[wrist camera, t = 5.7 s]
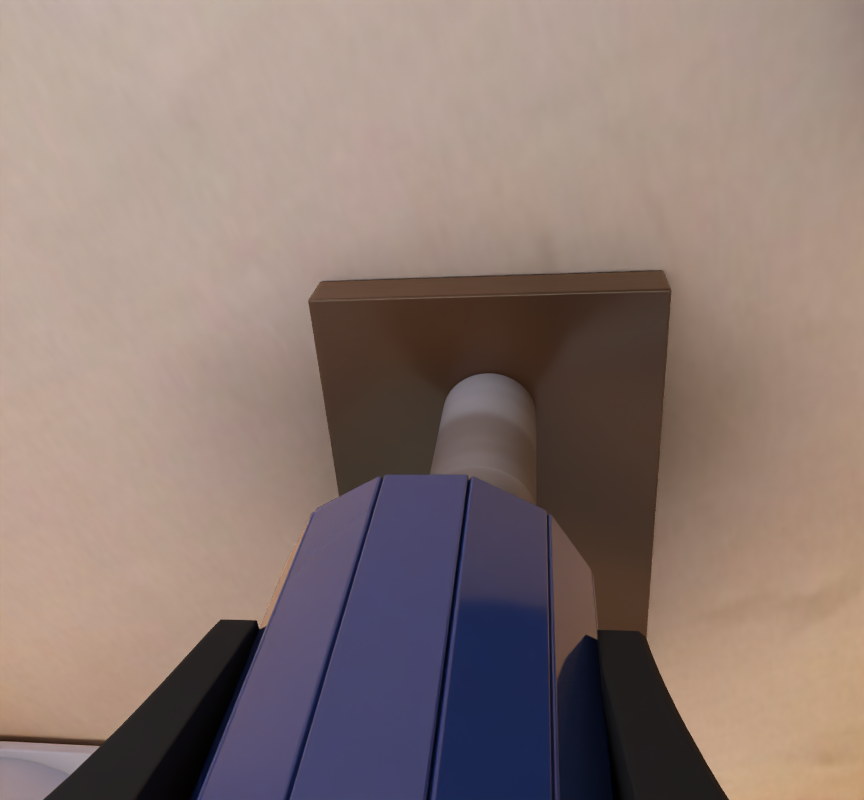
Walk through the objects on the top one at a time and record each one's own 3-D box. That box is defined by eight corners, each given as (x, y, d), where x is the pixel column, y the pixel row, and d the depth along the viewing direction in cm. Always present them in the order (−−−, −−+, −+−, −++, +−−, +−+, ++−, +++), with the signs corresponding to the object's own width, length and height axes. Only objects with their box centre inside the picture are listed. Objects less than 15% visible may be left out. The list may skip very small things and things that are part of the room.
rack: (638, 655, 24) (669, 863, 18) (374, 646, 25) (328, 842, 19) (663, 269, 18) (720, 405, 13) (319, 280, 19) (233, 410, 14)
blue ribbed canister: (589, 710, 15) (626, 1231, 9) (313, 699, 16) (170, 1174, 10) (595, 473, 12) (653, 974, 6) (265, 472, 13) (30, 921, 7)
